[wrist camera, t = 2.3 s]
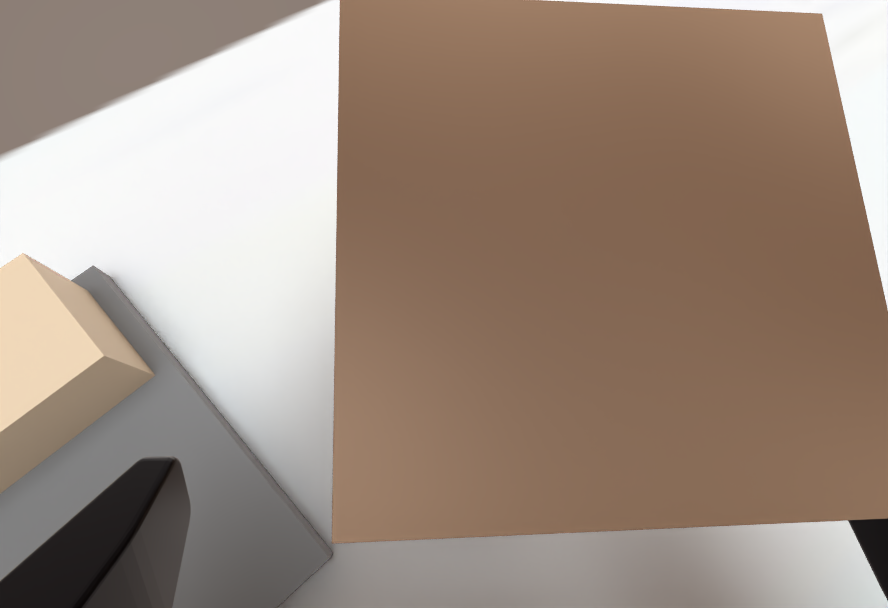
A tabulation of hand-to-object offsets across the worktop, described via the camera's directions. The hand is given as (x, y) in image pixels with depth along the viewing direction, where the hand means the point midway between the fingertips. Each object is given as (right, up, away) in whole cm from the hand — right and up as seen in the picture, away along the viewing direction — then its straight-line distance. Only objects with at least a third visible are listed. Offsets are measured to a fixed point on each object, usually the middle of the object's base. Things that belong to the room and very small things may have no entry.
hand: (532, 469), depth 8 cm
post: (-1, -1, +9) cm, 9 cm away
